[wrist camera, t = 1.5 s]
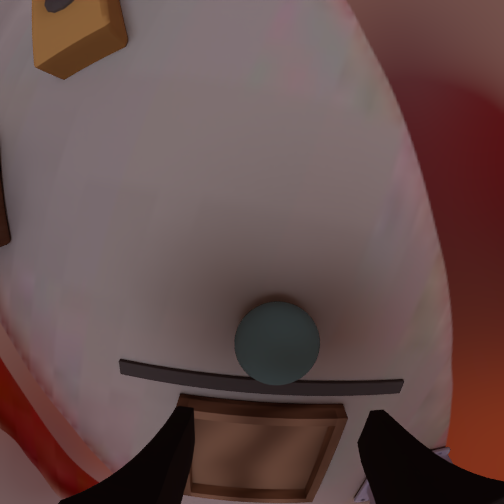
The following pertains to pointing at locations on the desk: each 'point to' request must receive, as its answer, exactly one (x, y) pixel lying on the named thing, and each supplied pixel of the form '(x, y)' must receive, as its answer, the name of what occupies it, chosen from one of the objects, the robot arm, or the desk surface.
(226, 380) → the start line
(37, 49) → the rubber stamp
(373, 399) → the desk surface
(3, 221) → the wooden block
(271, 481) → the tray
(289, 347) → the ball
